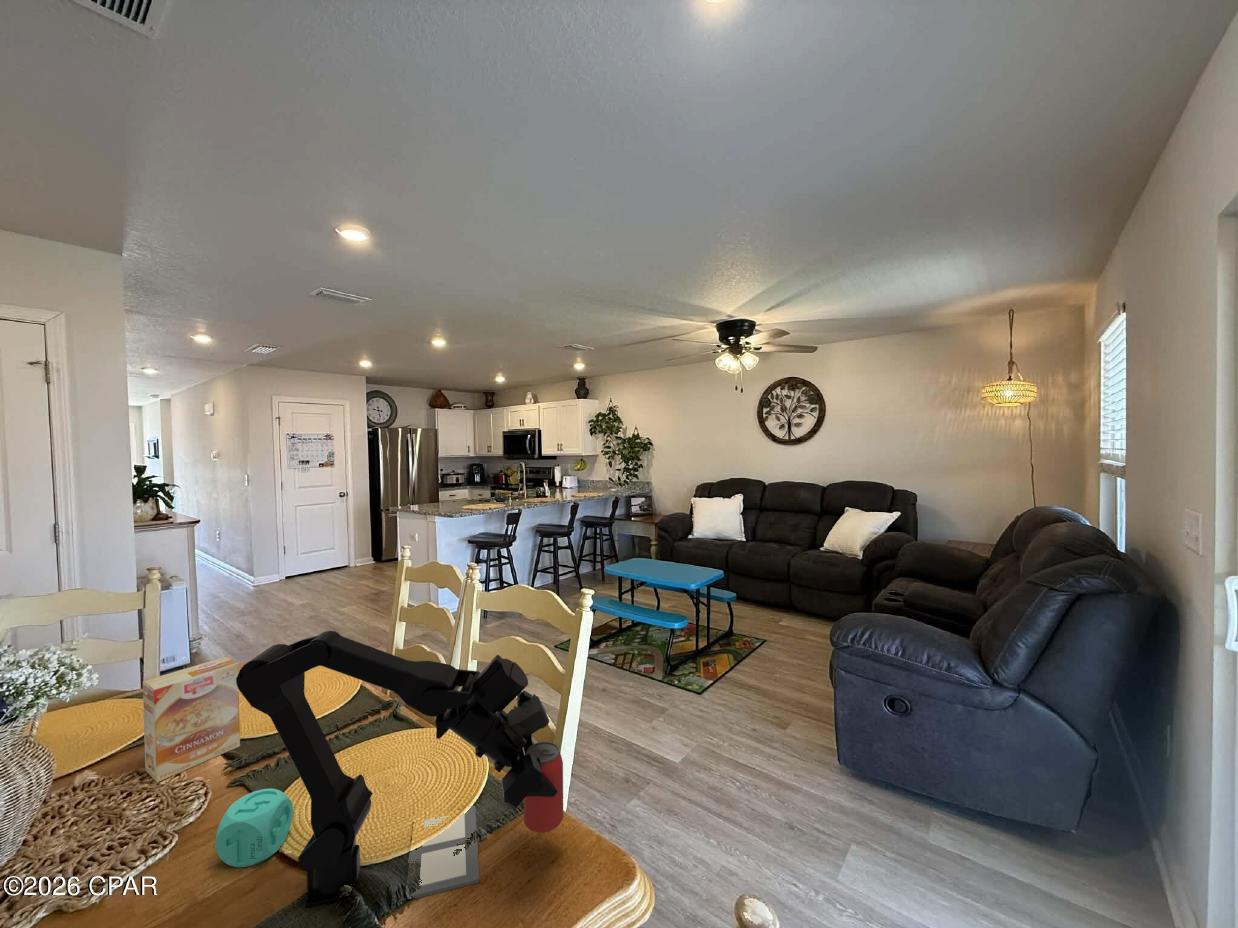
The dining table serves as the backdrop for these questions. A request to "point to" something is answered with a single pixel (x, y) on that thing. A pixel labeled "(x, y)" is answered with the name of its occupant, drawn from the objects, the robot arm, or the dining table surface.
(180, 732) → the coffeecake box
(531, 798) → the beer can
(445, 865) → the label board
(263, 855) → the decorative dice
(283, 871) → the dining table surface
